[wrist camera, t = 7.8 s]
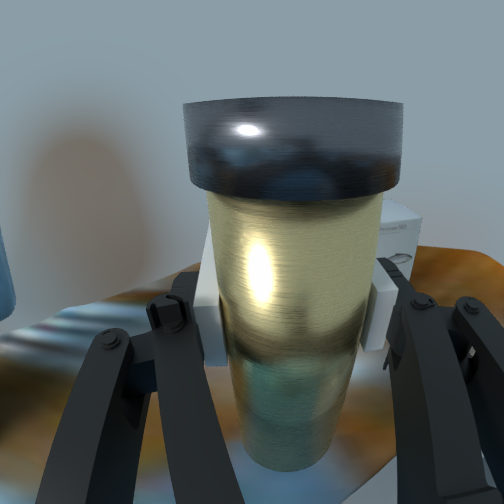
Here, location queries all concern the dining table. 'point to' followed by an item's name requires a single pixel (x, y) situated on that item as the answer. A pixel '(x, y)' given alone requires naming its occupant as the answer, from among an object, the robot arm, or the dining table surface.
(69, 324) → the dining table surface
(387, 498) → the socket plate
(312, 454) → the lidded glass jar
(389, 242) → the supplement box
